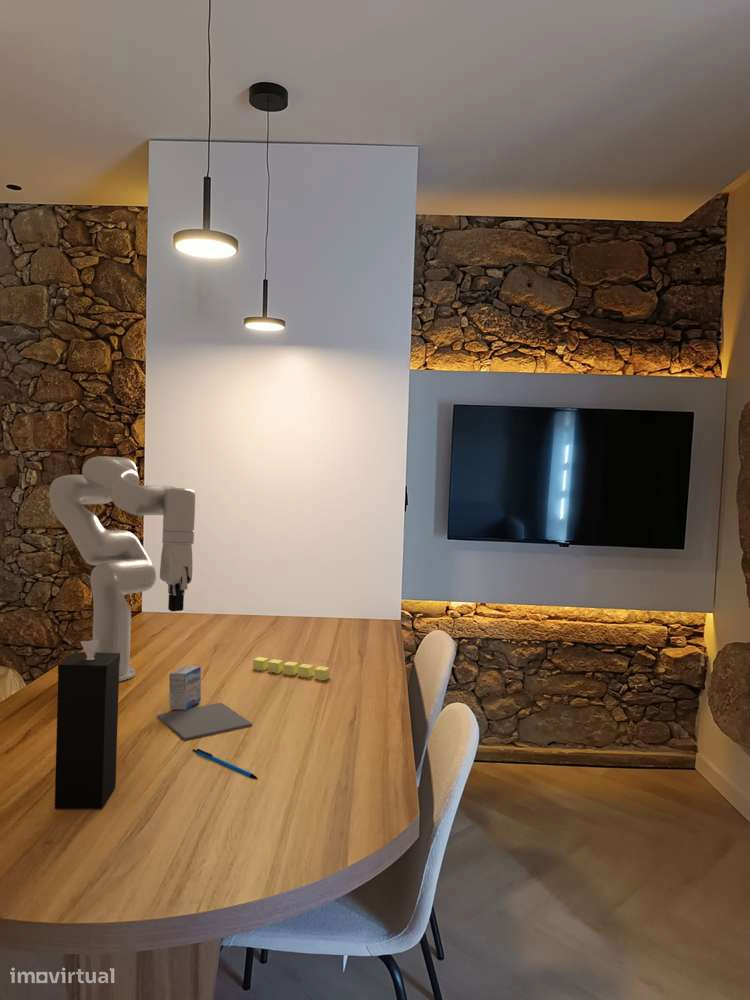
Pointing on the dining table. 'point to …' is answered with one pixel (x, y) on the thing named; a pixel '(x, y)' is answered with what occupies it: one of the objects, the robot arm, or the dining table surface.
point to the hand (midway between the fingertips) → (175, 610)
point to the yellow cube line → (291, 668)
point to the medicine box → (185, 687)
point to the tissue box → (86, 728)
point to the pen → (224, 763)
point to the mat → (203, 720)
